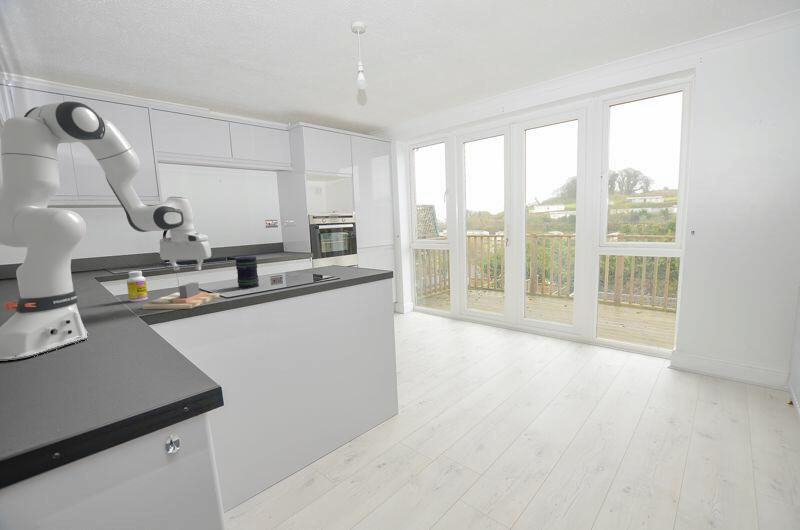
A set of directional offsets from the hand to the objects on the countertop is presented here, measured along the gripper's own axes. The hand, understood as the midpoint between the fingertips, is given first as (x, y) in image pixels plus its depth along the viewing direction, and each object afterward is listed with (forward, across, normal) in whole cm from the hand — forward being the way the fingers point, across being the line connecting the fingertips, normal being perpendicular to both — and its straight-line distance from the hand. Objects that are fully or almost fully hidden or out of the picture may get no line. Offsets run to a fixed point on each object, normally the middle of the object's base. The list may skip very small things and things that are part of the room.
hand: (187, 270), depth 146 cm
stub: (+12, 0, -1) cm, 12 cm away
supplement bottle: (+14, -27, +4) cm, 31 cm away
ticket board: (+14, -3, -1) cm, 14 cm away
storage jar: (+15, +10, +30) cm, 35 cm away
